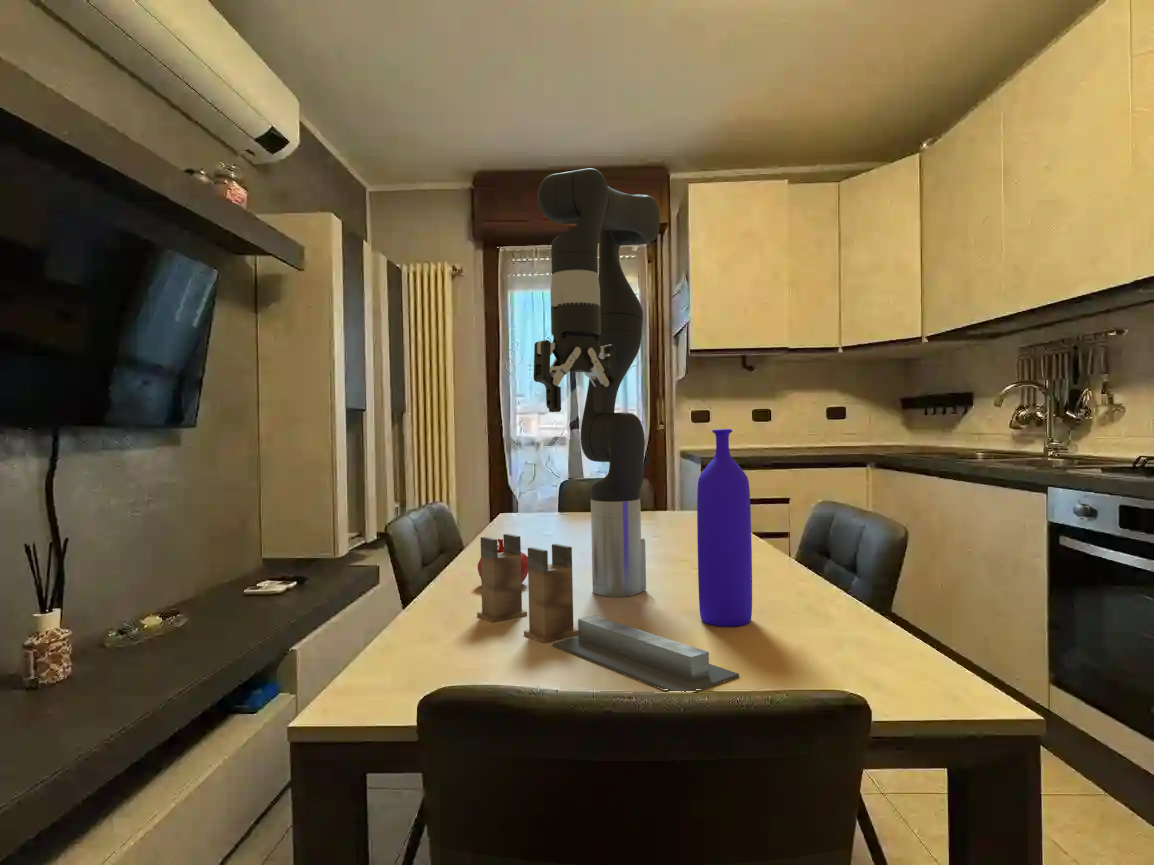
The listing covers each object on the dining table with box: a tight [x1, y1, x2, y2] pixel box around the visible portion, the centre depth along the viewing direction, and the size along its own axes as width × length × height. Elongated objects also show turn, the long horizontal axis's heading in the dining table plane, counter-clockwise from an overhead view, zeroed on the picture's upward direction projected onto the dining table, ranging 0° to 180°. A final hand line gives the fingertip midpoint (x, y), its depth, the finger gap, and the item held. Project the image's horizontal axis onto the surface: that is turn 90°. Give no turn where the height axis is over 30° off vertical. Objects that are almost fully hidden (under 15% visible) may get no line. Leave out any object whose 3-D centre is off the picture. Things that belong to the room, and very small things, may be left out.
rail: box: [577, 615, 710, 683], centre depth 93 cm, size 3×22×3 cm, turn 37°
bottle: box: [696, 428, 753, 628], centre depth 111 cm, size 8×8×30 cm
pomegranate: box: [477, 538, 528, 584], centre depth 139 cm, size 10×10×9 cm
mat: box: [552, 636, 740, 692], centre depth 93 cm, size 10×25×1 cm, turn 38°
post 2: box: [523, 543, 578, 644], centre depth 105 cm, size 6×5×13 cm
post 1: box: [476, 533, 528, 623], centre depth 116 cm, size 6×5×13 cm
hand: (577, 411), depth 107 cm, fingers open, 8 cm apart
